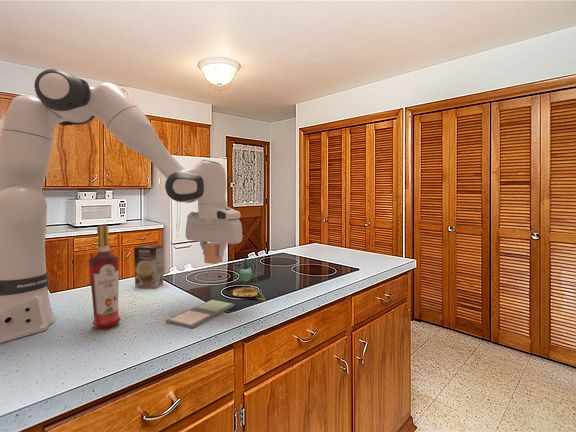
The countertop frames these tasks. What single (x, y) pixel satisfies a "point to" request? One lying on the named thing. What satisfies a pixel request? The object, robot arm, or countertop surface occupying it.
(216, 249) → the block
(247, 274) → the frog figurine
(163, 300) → the countertop surface
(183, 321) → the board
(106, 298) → the liquor
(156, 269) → the coffee box
